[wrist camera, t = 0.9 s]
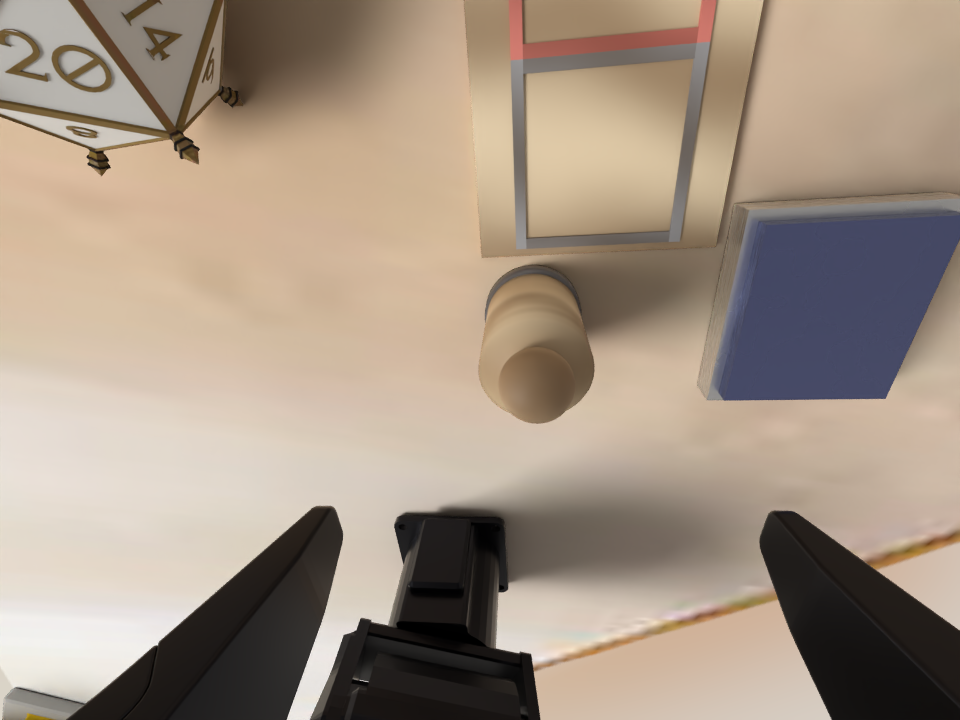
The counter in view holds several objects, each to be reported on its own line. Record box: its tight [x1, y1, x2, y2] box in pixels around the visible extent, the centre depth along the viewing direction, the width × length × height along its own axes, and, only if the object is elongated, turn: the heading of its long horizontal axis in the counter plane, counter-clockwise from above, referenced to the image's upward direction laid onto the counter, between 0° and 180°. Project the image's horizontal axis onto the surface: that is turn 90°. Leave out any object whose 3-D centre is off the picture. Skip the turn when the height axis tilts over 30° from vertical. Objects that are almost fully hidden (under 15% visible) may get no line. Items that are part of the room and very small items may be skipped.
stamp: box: [479, 265, 594, 424], centre depth 16 cm, size 4×4×7 cm
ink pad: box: [697, 192, 960, 400], centre depth 17 cm, size 8×7×2 cm
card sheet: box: [464, 0, 764, 258], centre depth 14 cm, size 13×9×1 cm
